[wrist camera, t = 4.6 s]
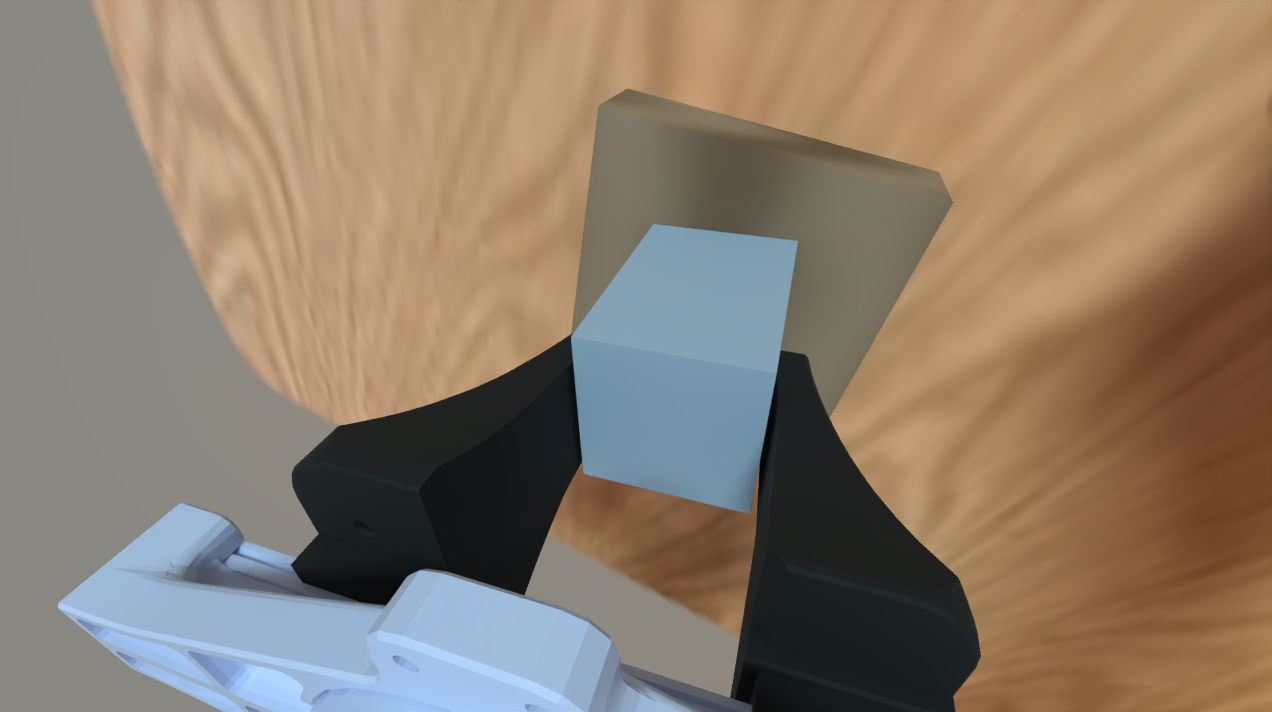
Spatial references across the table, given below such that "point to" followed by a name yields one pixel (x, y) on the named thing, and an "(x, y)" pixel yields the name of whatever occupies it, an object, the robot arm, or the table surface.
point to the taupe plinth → (763, 216)
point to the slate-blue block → (684, 364)
